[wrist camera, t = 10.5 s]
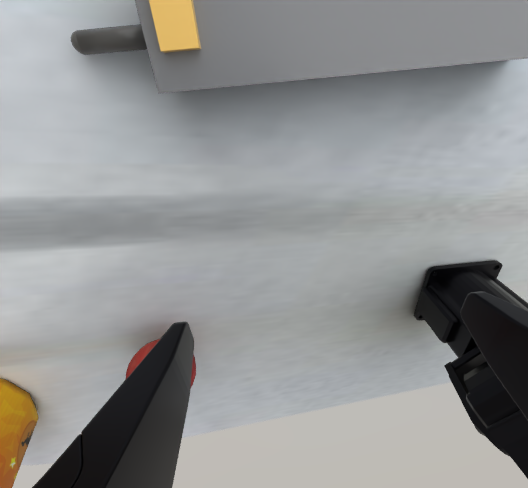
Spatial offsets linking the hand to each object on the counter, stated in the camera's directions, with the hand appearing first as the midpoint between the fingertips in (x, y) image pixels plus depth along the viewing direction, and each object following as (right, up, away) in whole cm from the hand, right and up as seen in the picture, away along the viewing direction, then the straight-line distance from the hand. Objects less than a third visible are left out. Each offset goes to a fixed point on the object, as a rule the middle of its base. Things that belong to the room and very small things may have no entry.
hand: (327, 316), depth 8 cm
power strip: (0, +14, +6) cm, 16 cm away
